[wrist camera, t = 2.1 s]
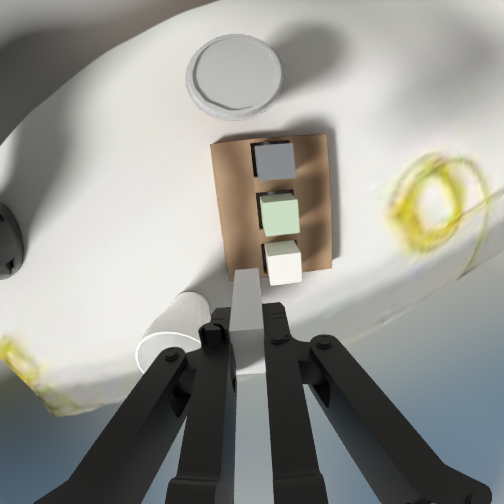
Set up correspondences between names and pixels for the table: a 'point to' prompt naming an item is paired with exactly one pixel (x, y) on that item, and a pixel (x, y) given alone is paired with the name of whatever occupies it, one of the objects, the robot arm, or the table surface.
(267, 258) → the white block
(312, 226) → the button board
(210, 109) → the disposable coffee cup
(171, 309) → the cup
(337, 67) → the table surface
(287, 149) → the gray button
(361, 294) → the table surface
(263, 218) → the pale green block
